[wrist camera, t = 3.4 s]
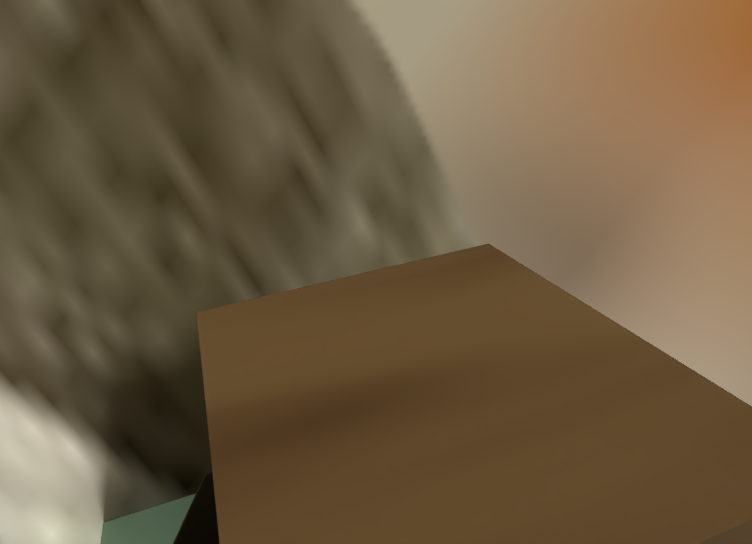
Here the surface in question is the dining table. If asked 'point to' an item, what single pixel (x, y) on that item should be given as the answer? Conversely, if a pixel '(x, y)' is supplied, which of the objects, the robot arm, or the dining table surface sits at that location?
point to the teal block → (148, 524)
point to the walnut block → (462, 417)
